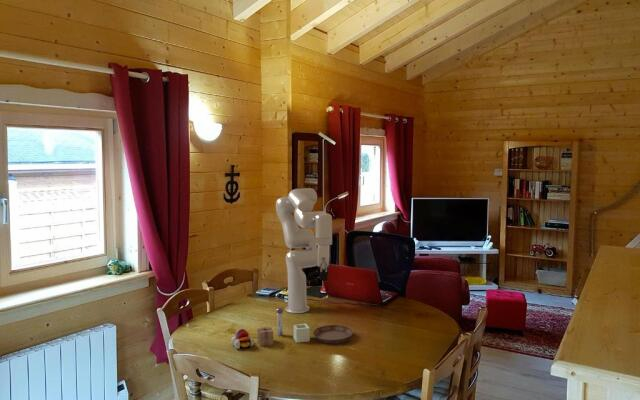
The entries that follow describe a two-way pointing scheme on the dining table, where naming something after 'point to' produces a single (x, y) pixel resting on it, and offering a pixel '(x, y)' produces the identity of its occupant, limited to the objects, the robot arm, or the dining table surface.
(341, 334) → the plant saucer
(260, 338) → the narrow block
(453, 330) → the dining table surface
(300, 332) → the wide bore block
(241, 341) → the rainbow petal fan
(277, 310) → the cylinder
